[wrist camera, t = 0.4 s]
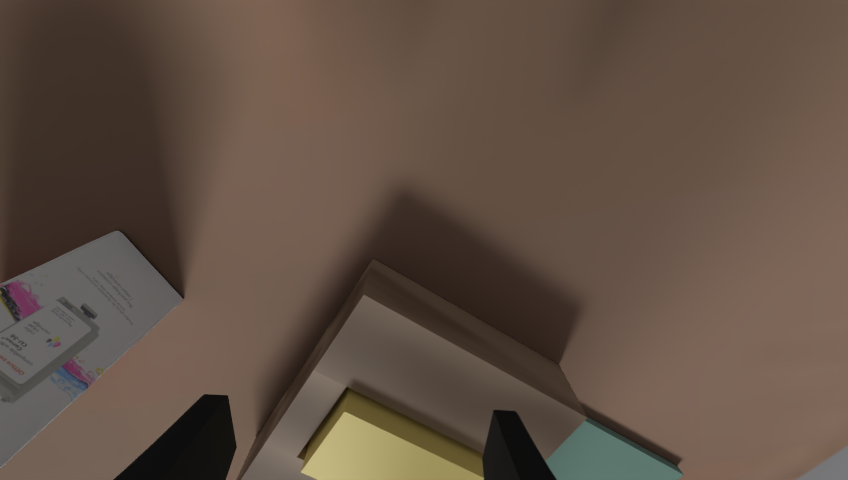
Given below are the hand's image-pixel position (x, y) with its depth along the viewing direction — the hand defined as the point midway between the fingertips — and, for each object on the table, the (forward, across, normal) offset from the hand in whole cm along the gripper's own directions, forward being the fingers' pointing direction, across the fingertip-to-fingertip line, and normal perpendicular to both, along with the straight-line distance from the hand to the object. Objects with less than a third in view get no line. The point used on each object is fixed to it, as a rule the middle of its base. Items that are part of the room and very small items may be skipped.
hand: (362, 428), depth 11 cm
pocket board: (+10, -1, +9) cm, 13 cm away
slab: (+7, -1, +9) cm, 12 cm away
